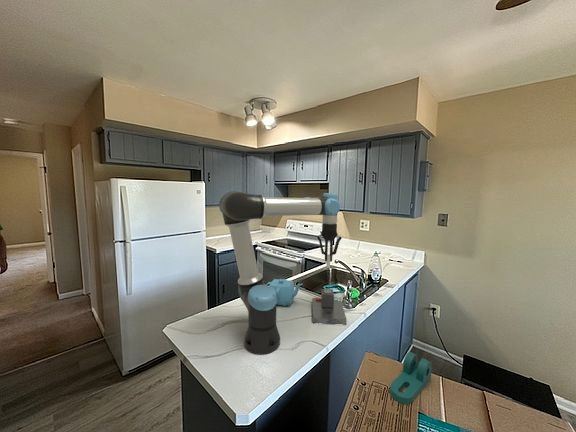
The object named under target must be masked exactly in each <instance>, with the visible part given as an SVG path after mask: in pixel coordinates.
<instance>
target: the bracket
mask: <svg viewBox="0 0 576 432" xmlns="http://www.w3.org/2000/svg"><path fill="white" fill-rule="evenodd" d="M402 364H403V366H402V372H401V373H400V374H399V375H398V376H397V377H396V378H395V379H394V380H393V381H392V382H391V383H390V388H389V389H390V390H389V393H390V396H391V397H392V399H393V400H394V401H396V402H397V403H400V404H403V405H410V404H412V403H413V402H414V400H416V398H417V397H418V395H419V394H420V393H421V392H422V391H423V389H424V388H425V387H426V386H427V385H428V383H429V382H430V380H431V378H432V367H433V366H432V365H433V364H432V362H431V361H430V360H427V358H426V359H425V358H421V360H419V356H418V354H415V353H413V352H411V351H409V352H407V353H406V354H405V357H404V360H403V363H402ZM404 388H406V389H405V390H404ZM403 390H404V391H403ZM402 391H403V392H402Z"/></svg>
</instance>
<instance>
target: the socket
mask: <svg viewBox="0 0 576 432" xmlns="http://www.w3.org/2000/svg"><path fill="white" fill-rule="evenodd" d="M311 310H312V311H311V312H313V313H312V324H313V323H318V325H320V324H319V323H322V324H321V325H335V324H343V325H342V326H347V321H348V319H347V315H346V314H345V313H346V312H345V310H344V307H343V303H342V300H341V301H338V300H334V308H328V307H322V303H321V297H312V298H311Z"/></svg>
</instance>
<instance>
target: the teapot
mask: <svg viewBox="0 0 576 432" xmlns="http://www.w3.org/2000/svg"><path fill="white" fill-rule="evenodd" d="M265 285H267V286H270V287H272V288H273V289H274V290H275V292H276V298H277V302H276V305H278V306H279V305H280V306H282V307H288V306H291V304H292V303H293V300H294V298H295V297H297V296H298V294H299V290H300V287H301V286H302V285H304V283H298V284H296V286H295V285H294V281H293V280H289V279H287V278H279V279H278V278H273V280H272V281H269V282H267V283H266V284H265ZM287 305H288V306H287Z"/></svg>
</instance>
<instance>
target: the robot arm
mask: <svg viewBox="0 0 576 432" xmlns="http://www.w3.org/2000/svg"><path fill="white" fill-rule="evenodd" d="M218 206H219V211H220V213H222V218H223V222H224V225H225V226H227V227H228V228H229V229H228V230H229V233H230V238H231V241H232V247H233V251H234V255H235V256H234V257H235V261H236V265H237V269H238V275H239V278H238V280H237V285H238V289H237V290H238V295H239V299H240V300H241V301H242V303H243V304H244V305H245V308H246V309H247V313H248V327H247V330H246V333H245V336H244V339H243V340H244V348H245V350H247V351H248V352H250V353H251V354H254V355H268V354H270V353H273V352H274V351H277V349H278V348H279V347H280V345H281V335H280V332H279V329H278V325H277V304H276V302H277V298H276V292H275V290H274V289H273V288H272V287H270V286H269V285H268V286H267V285H266V284H265V281H264V276H263V273H261V272H259V269H258V265H257V259H256V254H255V249H254V245H253V244H254V243H253V239H252V235H251V230H250V224H249V223H250V221H251V220H260V219H261V220H262V219H263V218H264V217H282V216H283V217H284V216H286V217H288V216H290V217H291V216H322V218H321V219H322V225H321V232H320V234H318V235H317V236H316V238H317V240H318V242H319V246H320V252H321V254H322V255H324V261H325V262H326V268H327V269H330V268H331V262H332V261H333V255H336V254H337V252H338V248H339V245H340V241H341V240H342V238H343V237H342V236H341V235H339V233H338V230H337V229H338V224H337V223H338V214H339V212H340V209H341V204H340V202H339V198H338V194H337V193H334V192H333V193H332V192H331V193H330V192H323V195H322V196H305V197H266V196H265V197H264V195H262V194H252V193H248V192H244V191H243V192H242V191H238V190H230V191H227V192H225V193H224V194H223V195H222V196H221V197H220V199H219V203H218ZM322 239H324V245H323V242H322ZM335 239H336V241H335V244H334V240H335ZM328 244H329V245H328ZM333 246H334V247H333ZM328 248H329V249H328ZM328 251H329V254H328Z"/></svg>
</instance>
